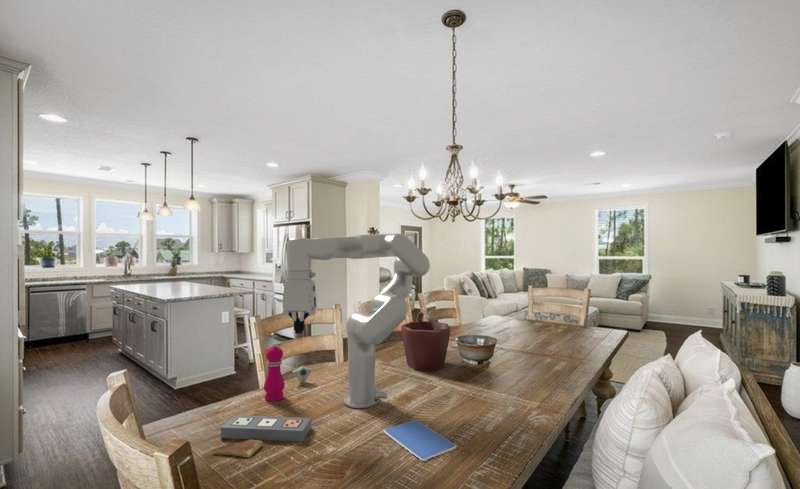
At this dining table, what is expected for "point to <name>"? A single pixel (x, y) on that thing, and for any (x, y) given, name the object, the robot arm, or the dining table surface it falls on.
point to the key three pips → (292, 424)
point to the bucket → (425, 343)
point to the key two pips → (242, 421)
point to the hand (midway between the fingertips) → (299, 332)
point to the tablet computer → (419, 439)
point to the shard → (240, 448)
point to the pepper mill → (274, 374)
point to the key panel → (266, 429)
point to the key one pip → (267, 422)
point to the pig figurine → (302, 373)
